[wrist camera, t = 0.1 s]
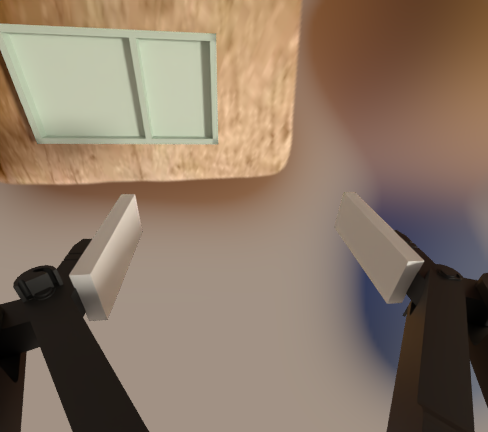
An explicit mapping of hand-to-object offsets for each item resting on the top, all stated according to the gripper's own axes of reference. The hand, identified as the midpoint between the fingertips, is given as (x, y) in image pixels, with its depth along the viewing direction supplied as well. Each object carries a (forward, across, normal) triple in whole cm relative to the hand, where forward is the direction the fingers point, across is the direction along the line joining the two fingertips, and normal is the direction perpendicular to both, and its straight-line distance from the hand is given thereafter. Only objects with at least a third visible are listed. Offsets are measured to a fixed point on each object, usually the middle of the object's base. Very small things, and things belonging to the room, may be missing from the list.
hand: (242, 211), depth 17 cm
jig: (+28, -14, +4) cm, 32 cm away
